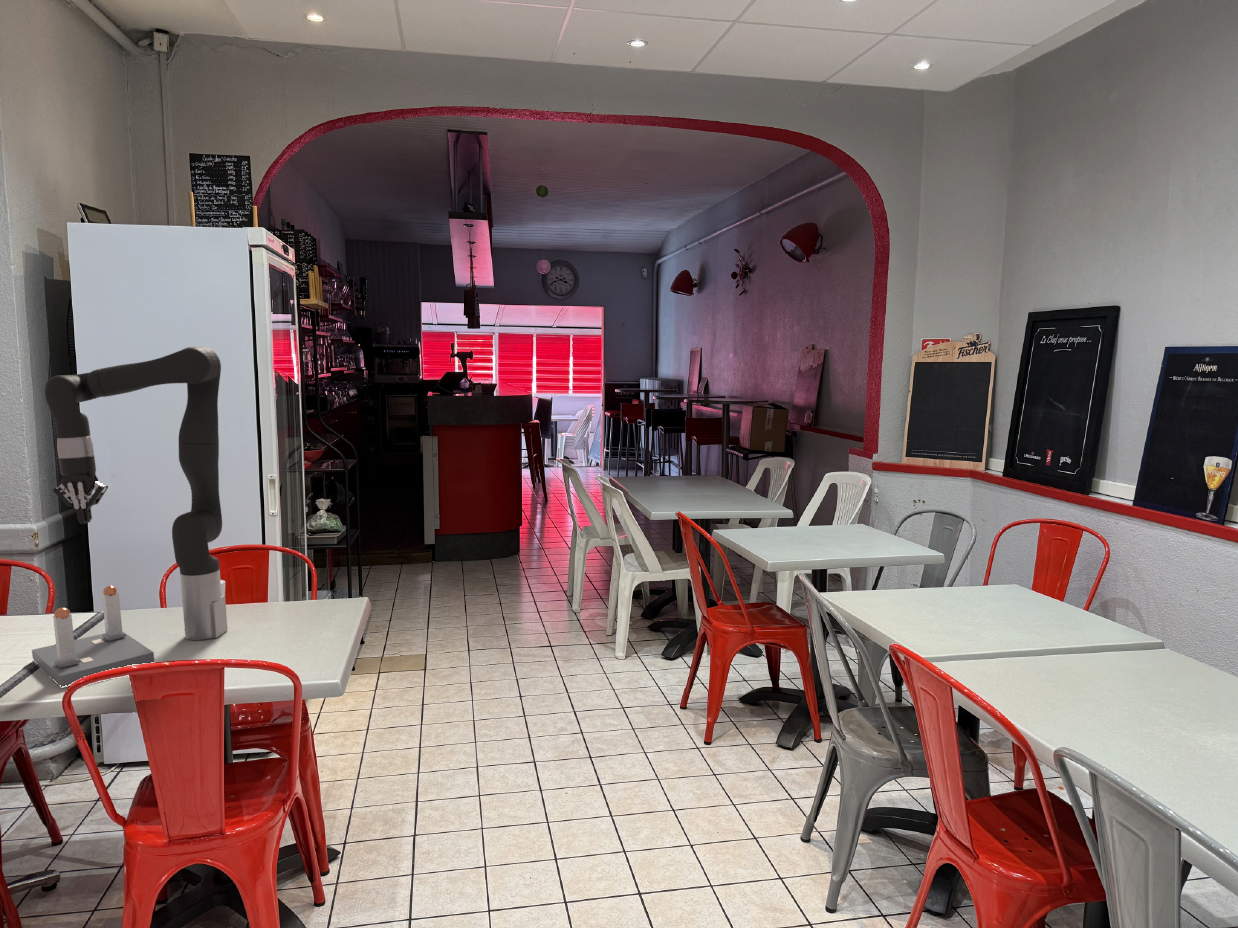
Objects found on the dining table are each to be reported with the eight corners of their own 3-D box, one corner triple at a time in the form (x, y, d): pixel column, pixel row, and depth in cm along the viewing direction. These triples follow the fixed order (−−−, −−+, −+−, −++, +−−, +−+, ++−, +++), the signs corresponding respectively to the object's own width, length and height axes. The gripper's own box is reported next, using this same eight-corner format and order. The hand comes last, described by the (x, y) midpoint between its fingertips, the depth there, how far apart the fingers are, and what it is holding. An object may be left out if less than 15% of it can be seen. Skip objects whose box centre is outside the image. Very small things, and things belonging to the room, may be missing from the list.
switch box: (33, 661, 197) (31, 649, 197) (121, 640, 211) (119, 628, 211) (61, 688, 181) (60, 674, 181) (154, 664, 195) (153, 651, 195)
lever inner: (102, 637, 204) (97, 586, 202) (120, 633, 207) (116, 582, 205) (108, 640, 202) (103, 589, 200) (126, 636, 205) (121, 585, 203)
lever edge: (54, 663, 187) (48, 608, 185) (74, 658, 190) (69, 603, 188) (59, 667, 184) (53, 611, 183) (80, 662, 187) (74, 607, 186)
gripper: (39, 458, 201) (49, 527, 203) (93, 455, 201) (102, 524, 203) (60, 454, 209) (69, 521, 211) (111, 452, 209) (120, 518, 211)
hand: (85, 522), depth 207 cm, fingers closed
